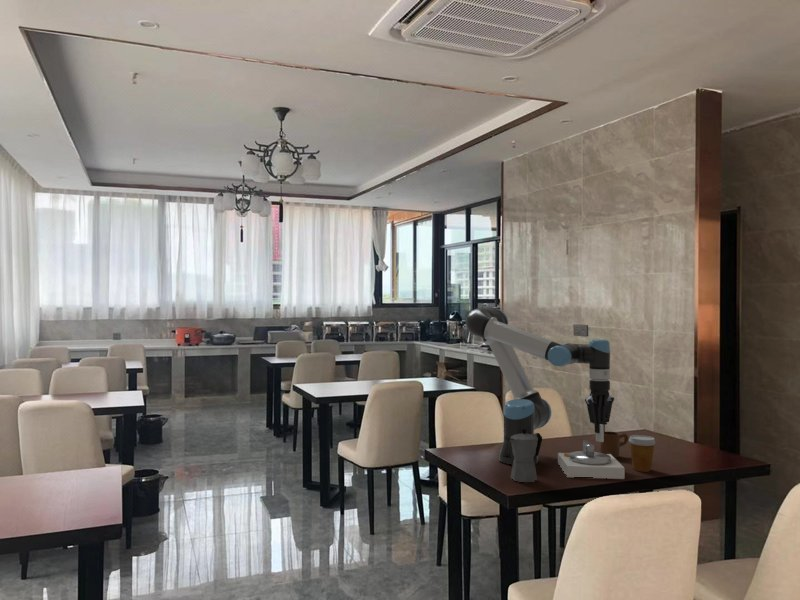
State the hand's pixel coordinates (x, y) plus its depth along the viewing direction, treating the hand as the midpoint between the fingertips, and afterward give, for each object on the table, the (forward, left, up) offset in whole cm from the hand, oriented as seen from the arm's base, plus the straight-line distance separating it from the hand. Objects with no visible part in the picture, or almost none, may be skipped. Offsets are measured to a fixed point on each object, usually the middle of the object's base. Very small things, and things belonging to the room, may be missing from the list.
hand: (599, 441), depth 246 cm
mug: (+10, +16, -10) cm, 21 cm away
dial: (-5, -8, -5) cm, 11 cm away
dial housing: (-5, -8, -9) cm, 14 cm away
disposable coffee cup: (+15, -4, -9) cm, 18 cm away
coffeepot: (-30, -22, -10) cm, 39 cm away
